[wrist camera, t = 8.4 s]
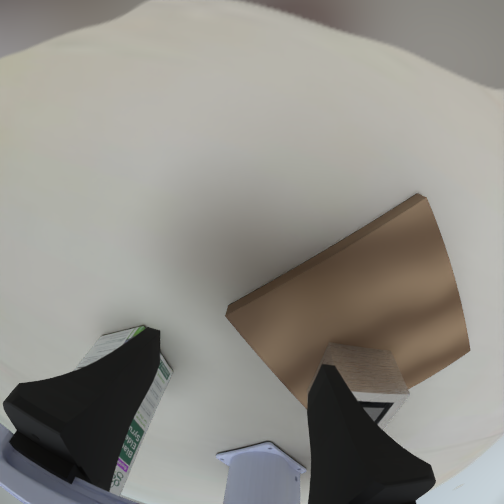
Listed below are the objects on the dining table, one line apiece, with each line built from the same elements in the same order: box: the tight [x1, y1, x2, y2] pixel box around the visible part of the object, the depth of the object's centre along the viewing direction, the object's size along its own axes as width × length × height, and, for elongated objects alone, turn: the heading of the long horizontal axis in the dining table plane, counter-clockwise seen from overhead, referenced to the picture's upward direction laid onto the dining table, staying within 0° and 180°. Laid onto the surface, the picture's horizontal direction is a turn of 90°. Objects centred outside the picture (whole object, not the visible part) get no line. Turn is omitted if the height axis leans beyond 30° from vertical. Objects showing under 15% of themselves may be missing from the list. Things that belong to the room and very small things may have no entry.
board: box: [225, 194, 470, 409], centre depth 21 cm, size 16×16×2 cm
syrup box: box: [74, 326, 173, 496], centre depth 18 cm, size 6×6×14 cm
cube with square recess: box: [307, 342, 410, 430], centre depth 19 cm, size 6×6×5 cm
